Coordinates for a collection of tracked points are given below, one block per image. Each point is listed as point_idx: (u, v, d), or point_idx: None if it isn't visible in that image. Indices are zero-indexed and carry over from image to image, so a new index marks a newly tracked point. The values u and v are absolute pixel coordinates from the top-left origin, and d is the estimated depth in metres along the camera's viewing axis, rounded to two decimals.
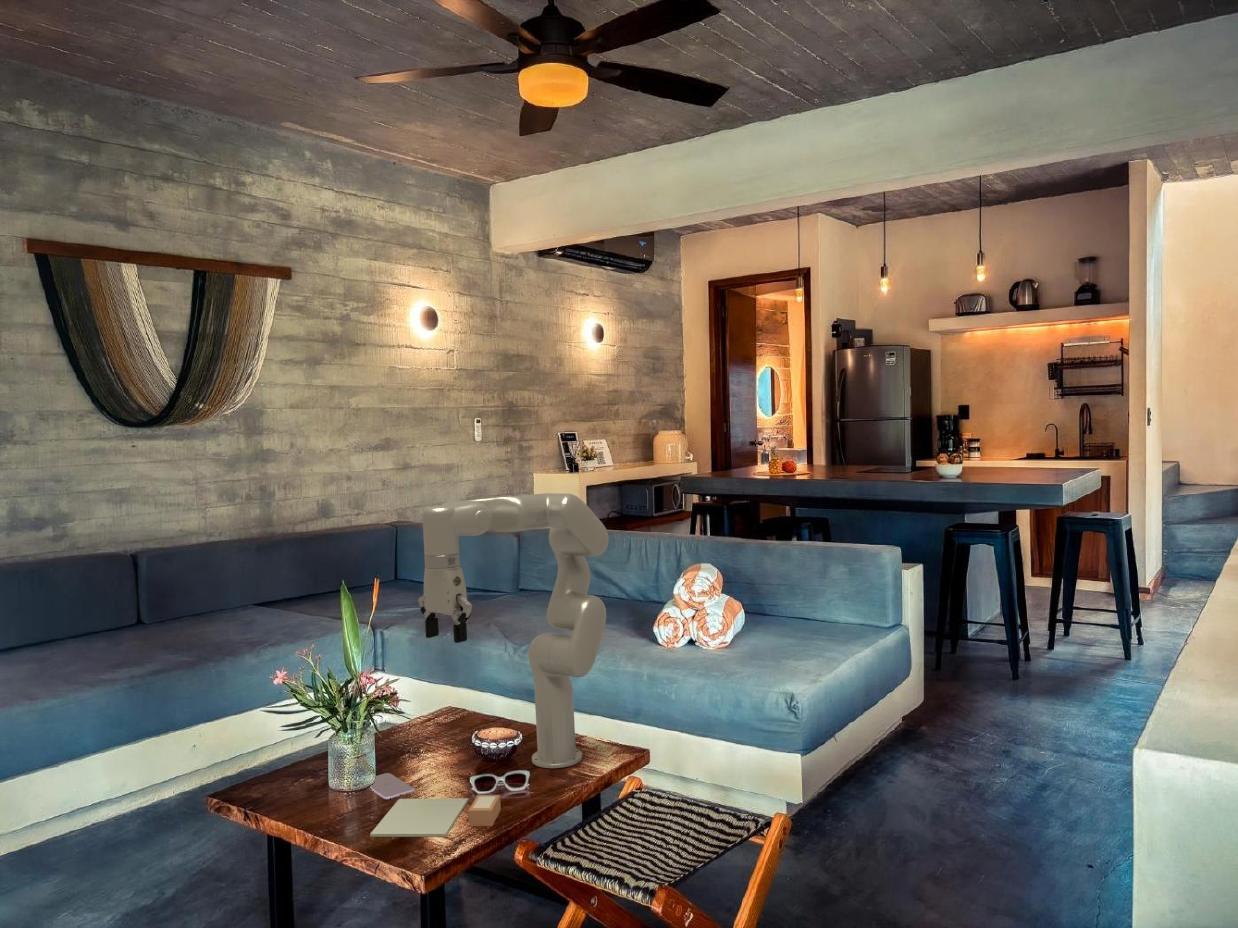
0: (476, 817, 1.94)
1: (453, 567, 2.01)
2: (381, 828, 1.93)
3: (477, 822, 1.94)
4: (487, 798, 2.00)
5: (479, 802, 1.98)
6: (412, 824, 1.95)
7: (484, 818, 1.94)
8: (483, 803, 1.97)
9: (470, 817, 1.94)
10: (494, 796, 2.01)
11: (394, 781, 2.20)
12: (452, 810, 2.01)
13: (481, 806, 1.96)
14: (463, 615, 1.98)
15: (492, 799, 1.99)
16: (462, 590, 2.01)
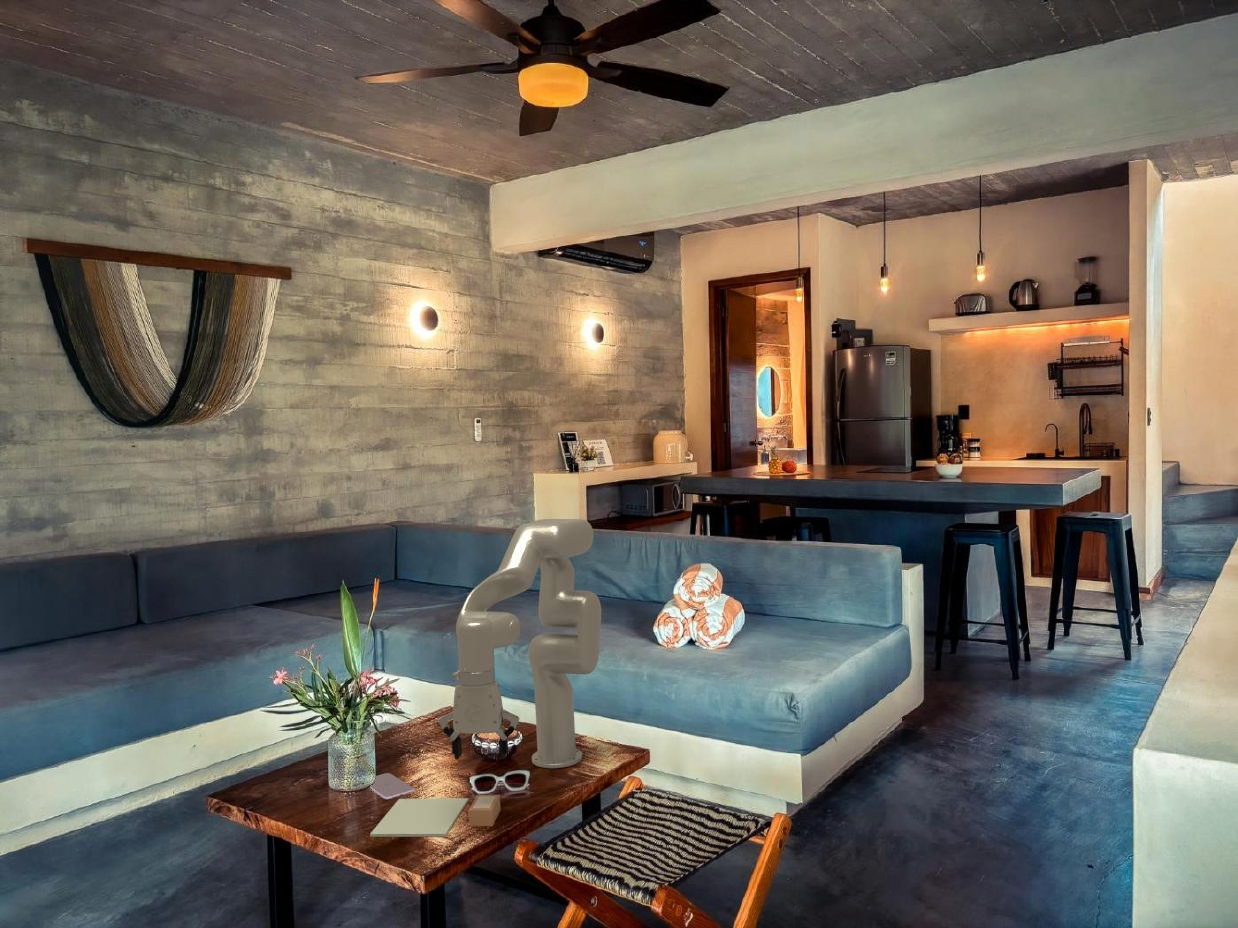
0: (476, 817, 1.94)
1: None
2: (381, 828, 1.93)
3: (477, 822, 1.94)
4: (487, 798, 2.00)
5: (479, 802, 1.98)
6: (412, 824, 1.95)
7: (484, 818, 1.94)
8: (483, 803, 1.97)
9: (470, 817, 1.94)
10: (494, 796, 2.01)
11: (394, 781, 2.20)
12: (452, 810, 2.01)
13: (481, 806, 1.96)
14: None
15: (492, 799, 1.99)
16: None
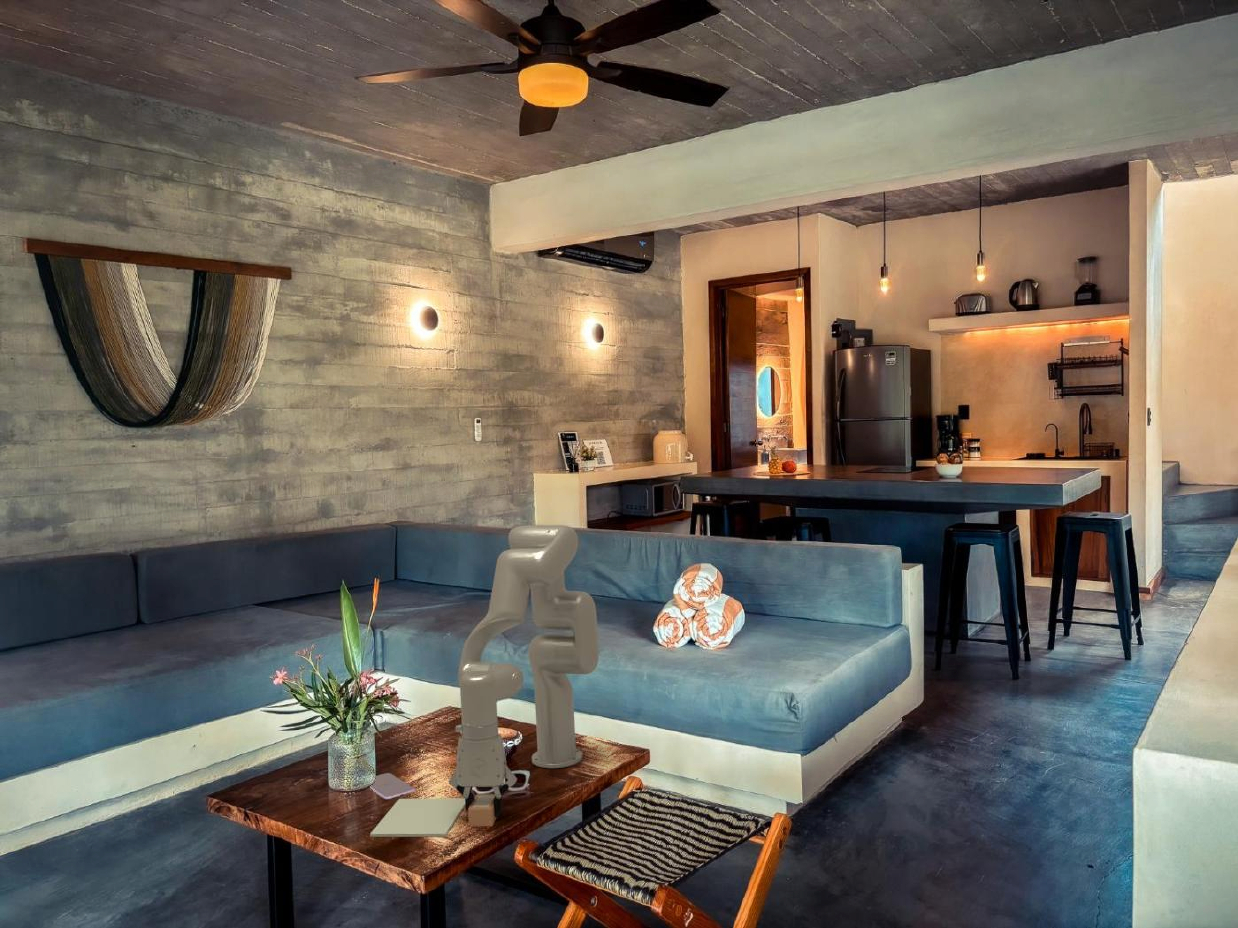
0: (476, 816, 1.94)
1: None
2: (381, 828, 1.93)
3: (476, 821, 1.94)
4: (487, 797, 1.99)
5: (479, 801, 1.98)
6: (412, 824, 1.95)
7: (484, 817, 1.94)
8: (483, 802, 1.97)
9: (470, 816, 1.94)
10: (493, 795, 2.01)
11: (394, 781, 2.20)
12: (452, 810, 2.01)
13: (481, 805, 1.96)
14: None
15: (491, 798, 1.99)
16: None
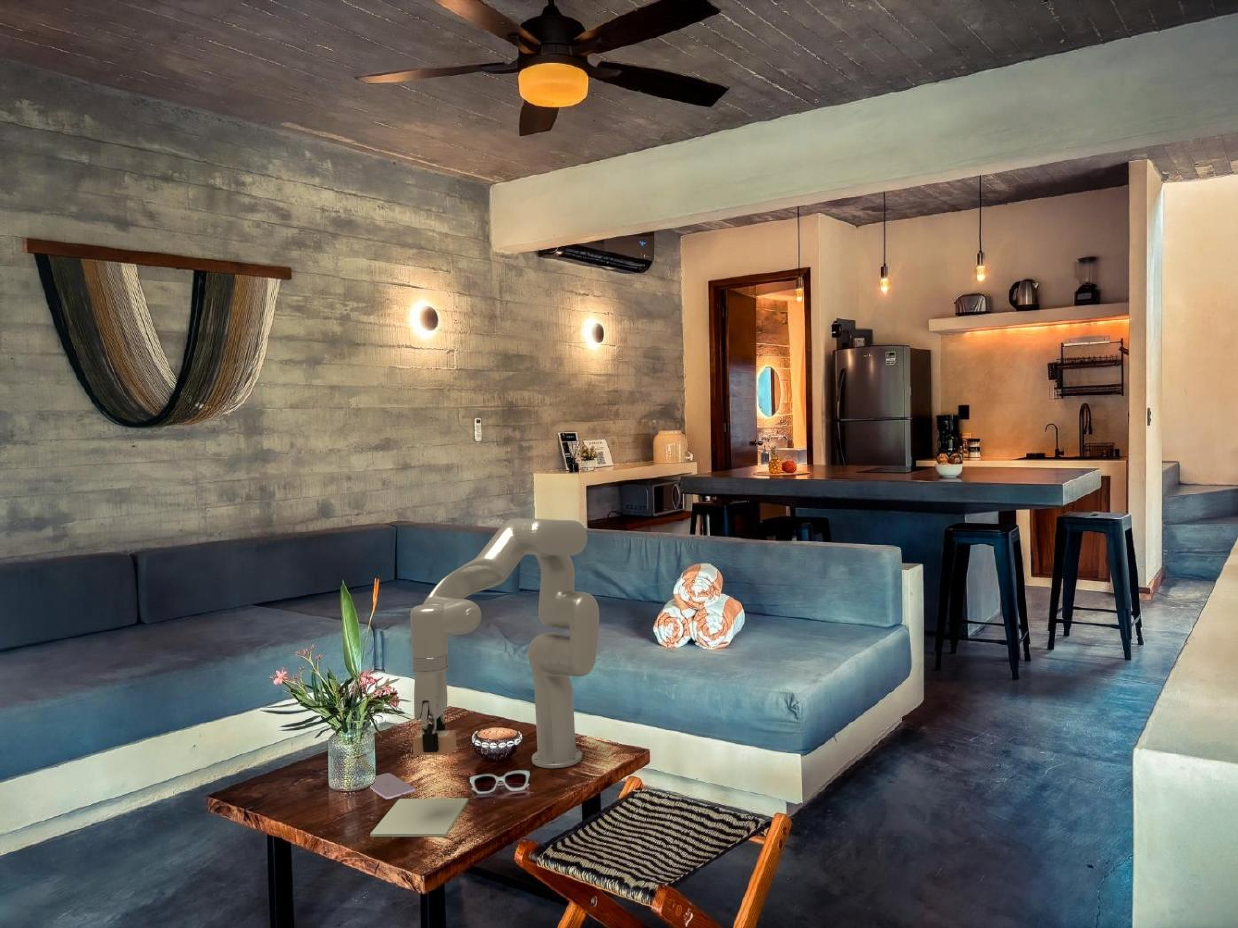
0: None
1: None
2: (381, 828, 1.93)
3: None
4: (443, 734, 1.98)
5: None
6: (412, 824, 1.95)
7: None
8: None
9: None
10: (447, 736, 1.96)
11: (395, 781, 2.20)
12: (452, 810, 2.01)
13: None
14: None
15: (439, 735, 1.96)
16: None
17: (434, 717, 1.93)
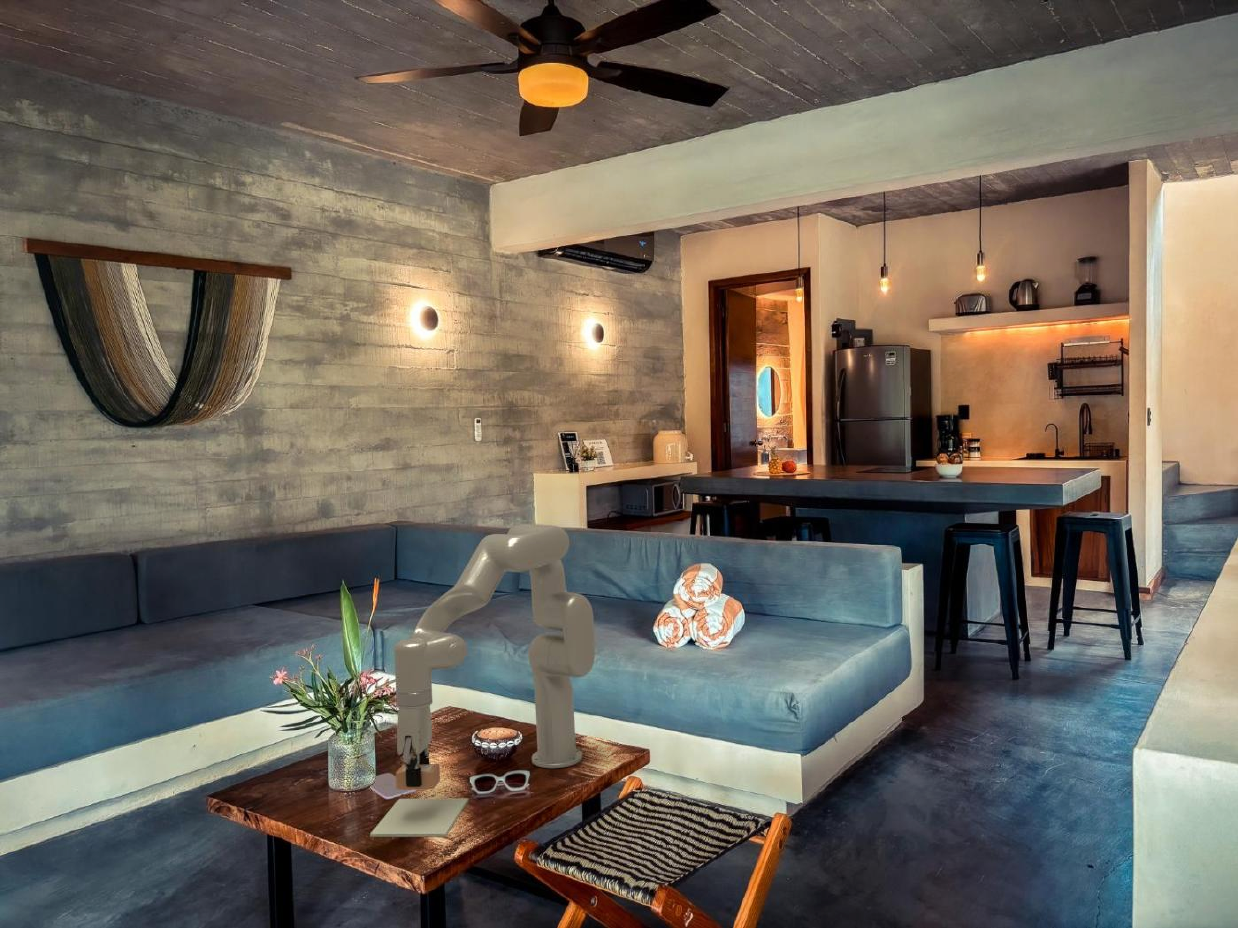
0: None
1: None
2: (381, 828, 1.93)
3: None
4: (426, 768, 1.98)
5: (419, 766, 2.00)
6: (412, 824, 1.95)
7: None
8: None
9: None
10: (430, 770, 1.97)
11: (395, 781, 2.20)
12: (452, 810, 2.01)
13: None
14: (428, 744, 2.04)
15: (422, 770, 1.97)
16: None
17: (417, 752, 1.94)
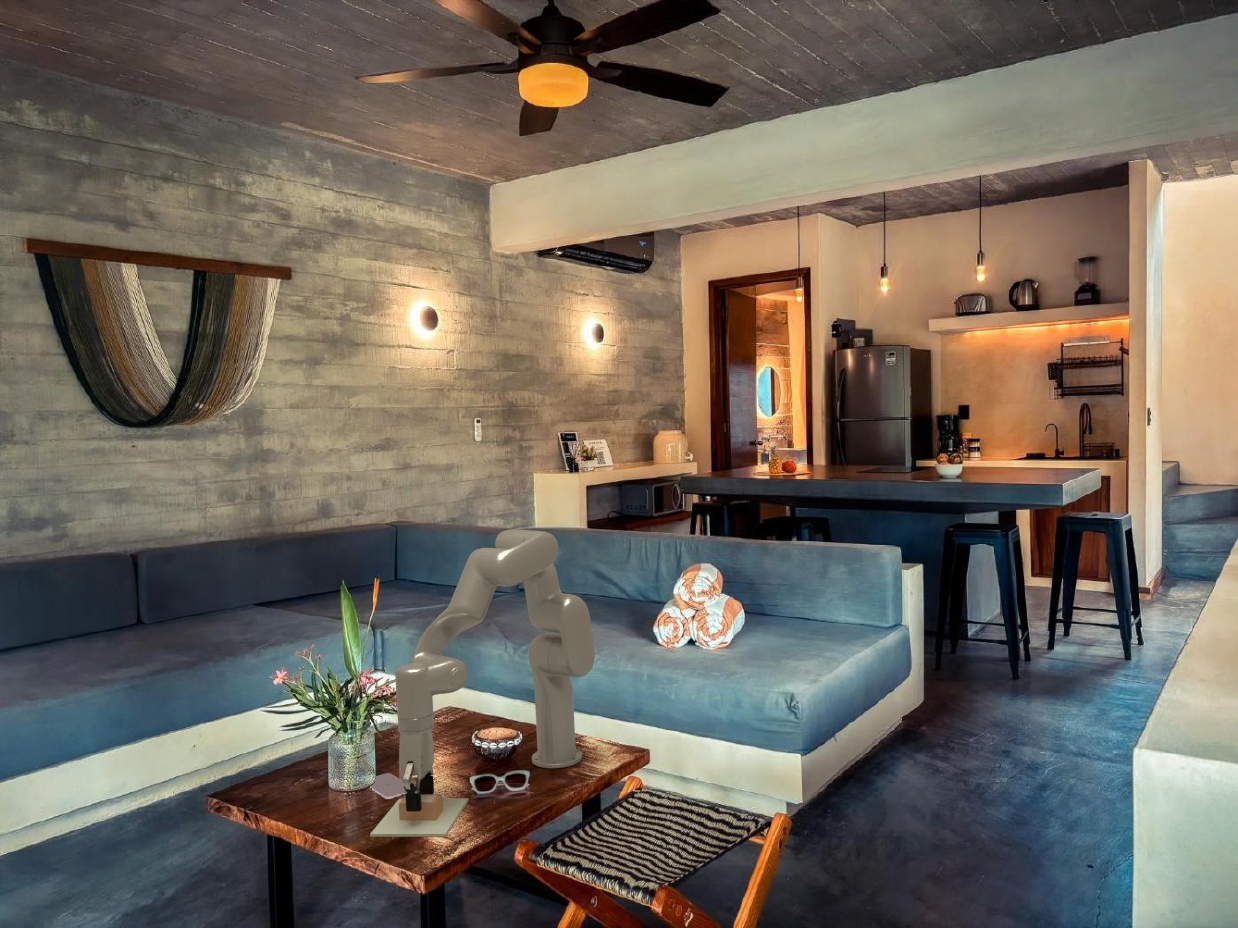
0: None
1: None
2: (381, 828, 1.93)
3: None
4: (429, 799, 1.99)
5: (422, 796, 2.00)
6: (412, 824, 1.95)
7: None
8: None
9: None
10: (432, 801, 1.97)
11: (395, 781, 2.20)
12: (452, 810, 2.01)
13: None
14: None
15: (424, 800, 1.97)
16: None
17: (419, 777, 1.94)
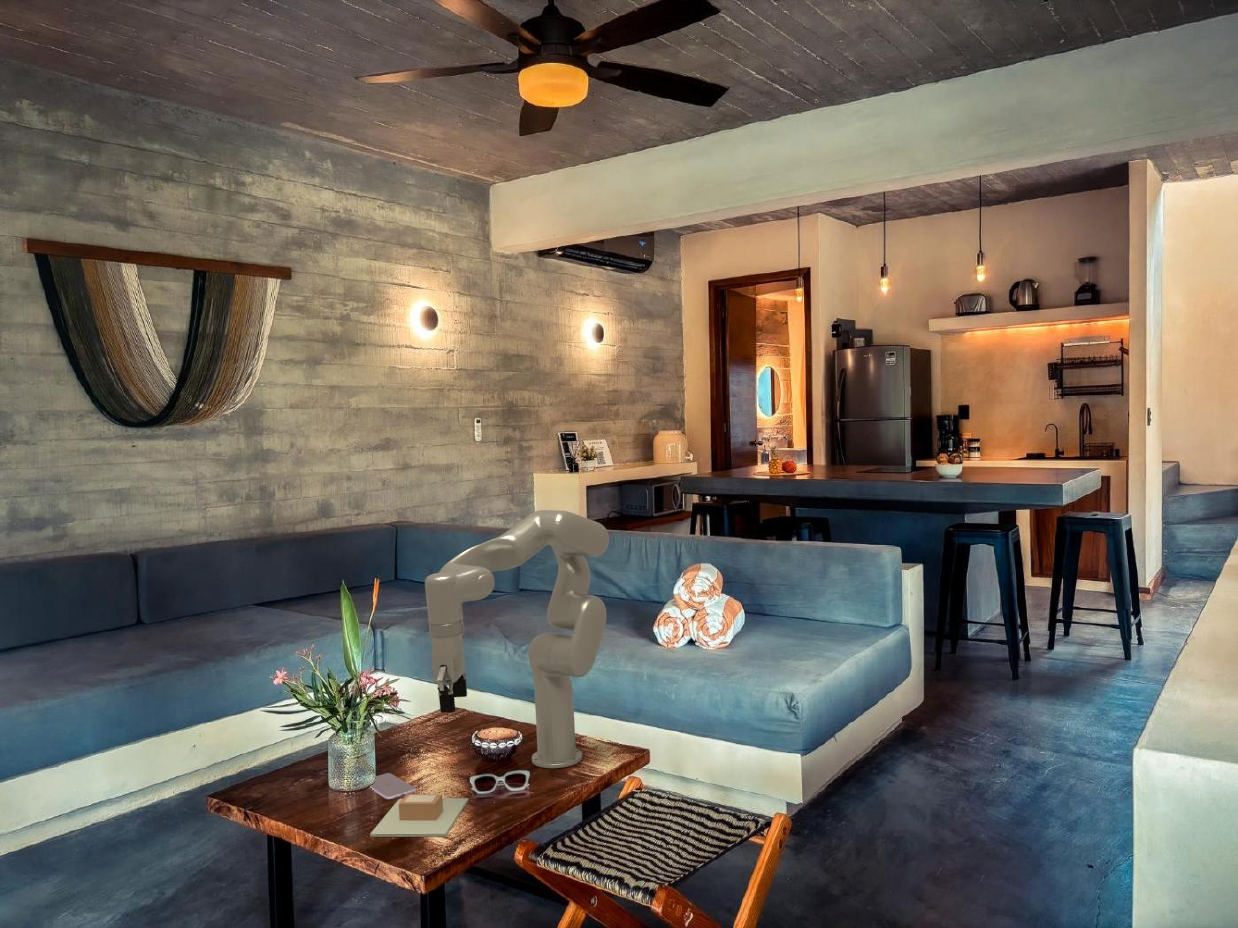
0: None
1: None
2: (381, 828, 1.93)
3: None
4: (429, 799, 1.99)
5: (422, 796, 2.00)
6: (412, 824, 1.95)
7: None
8: (417, 798, 1.99)
9: None
10: (432, 801, 1.97)
11: (395, 781, 2.20)
12: (452, 810, 2.01)
13: (411, 798, 1.99)
14: None
15: (424, 800, 1.97)
16: None
17: (452, 680, 2.00)
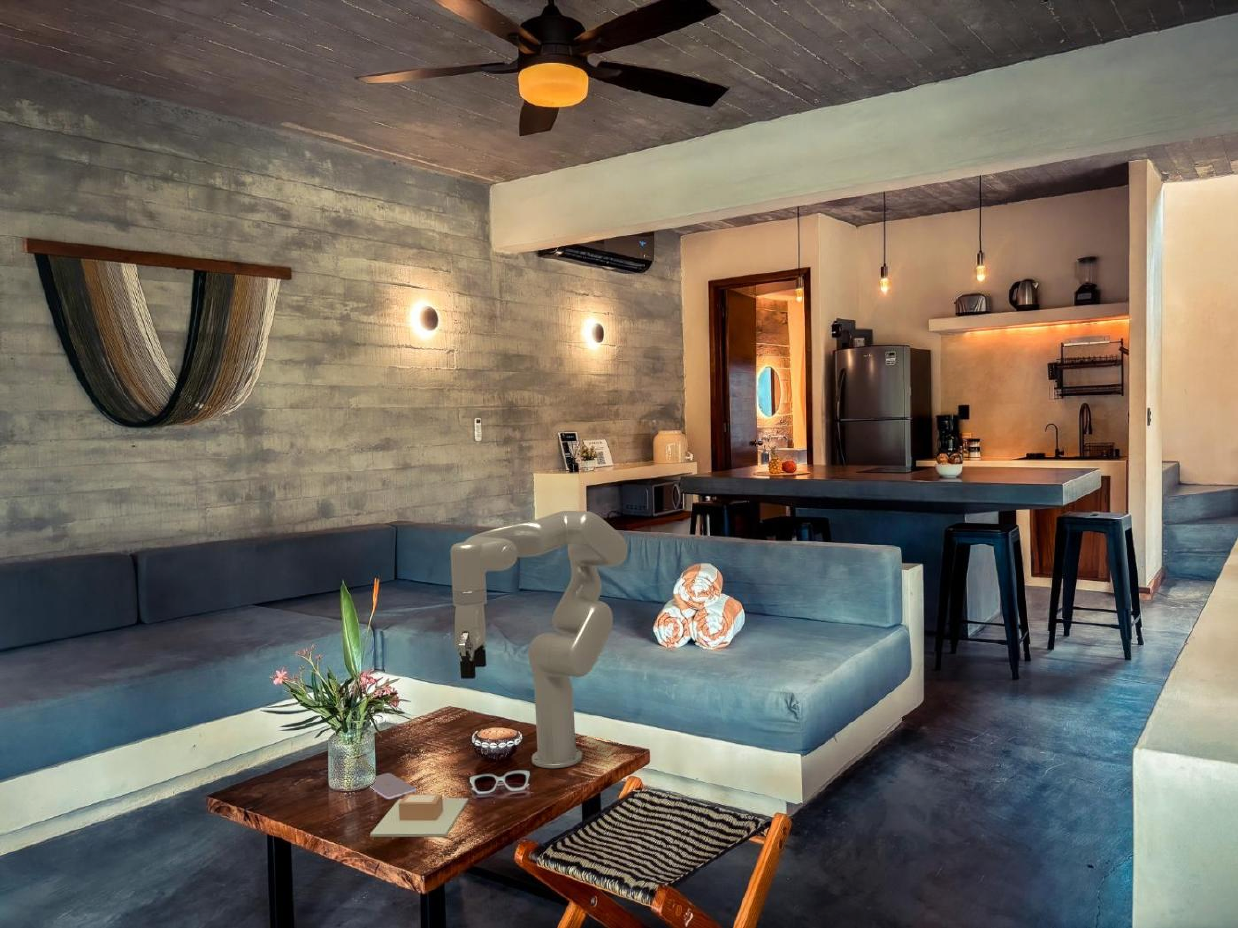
0: None
1: None
2: (381, 828, 1.93)
3: None
4: (429, 799, 1.99)
5: (422, 796, 2.00)
6: (412, 824, 1.95)
7: None
8: (417, 798, 1.99)
9: None
10: (432, 801, 1.97)
11: (395, 781, 2.20)
12: (452, 810, 2.01)
13: (411, 798, 1.99)
14: None
15: (424, 800, 1.97)
16: None
17: (474, 647, 2.04)
